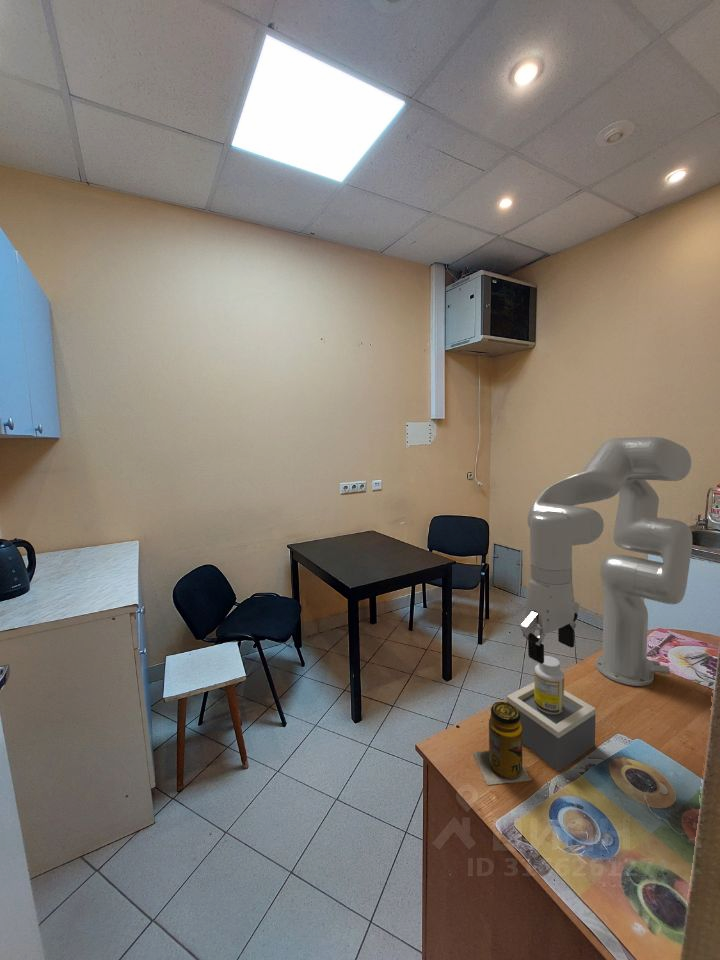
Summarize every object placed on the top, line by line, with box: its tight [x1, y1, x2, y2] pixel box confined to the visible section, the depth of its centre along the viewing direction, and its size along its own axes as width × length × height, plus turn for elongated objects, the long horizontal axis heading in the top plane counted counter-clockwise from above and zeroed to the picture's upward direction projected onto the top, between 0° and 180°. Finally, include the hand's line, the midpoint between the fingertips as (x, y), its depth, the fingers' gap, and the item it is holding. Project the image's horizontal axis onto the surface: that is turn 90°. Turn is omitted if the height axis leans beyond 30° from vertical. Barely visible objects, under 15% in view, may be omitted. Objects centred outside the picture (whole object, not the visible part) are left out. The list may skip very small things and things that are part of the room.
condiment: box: [472, 701, 532, 786], centre depth 73 cm, size 7×8×12 cm
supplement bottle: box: [533, 655, 565, 715], centre depth 79 cm, size 6×6×10 cm
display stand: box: [506, 681, 597, 773], centre depth 80 cm, size 12×12×8 cm
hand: (551, 652), depth 79 cm, fingers open, 9 cm apart
